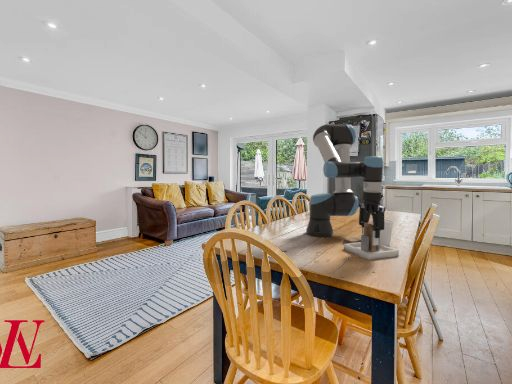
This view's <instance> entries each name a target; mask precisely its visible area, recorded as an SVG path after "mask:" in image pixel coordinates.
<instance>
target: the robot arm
mask: <svg viewBox="0 0 512 384" xmlns="http://www.w3.org/2000/svg"><path fill="white" fill-rule="evenodd" d="M356 137H357V136H356V130H355V128H354V126H353V125H352V124H345V123H343V124H327V123H326V124H324V125H323V124H322V125H321V126H319V127H317V129H316V130H315V131H314V133H313V135H312V141H313V145H314V146H315V147H317V149H318V150H319V151H318V152H319V153H320V156H321V157H322V160H323V163H324V164H323V168H322V171H323V175H324V177H325V178H332V179H334V181H335V182H334V183H335V184H334V185H335V186H334V187H335V190H334V191H333V192H332V194H331V193H329V192H328V193H326V192H325V193H316V194H313V195H311V196H310V197H309V198H310V199H309V220H308V225H307V227H306V234H307V235H308V236H312V237H319V238H320V237H322V238H323V237H331V236H333V235H334V230H333V229H334V228H333V226H332V223H331V222H332V221H331V217H348V216H349V217H351V216H354V215H355V214H357V213H356V212H357V210H358V208H359V213H358V225H359V226H361V233H362V234H361V235H364V222H370V219H373V224H374V230H373V238H372V245H373V246H374V245H378V244H379V238H380V230H384V219H385V213H386V206H382V205H381V201H382V189H383V168H384V167H383V166H384V162H383V157H382V156H378V155H377V156H376V155H375V156H374V155H371V156H364V158H363V161H351V159H350V158H351V157H350V156H351V155H350V149H352V147H353V145H354V144H355V142H356ZM352 178H353V179H354V178H358V179H362V178H363V184H362V185H363V186H362V187H363V188H362V190H363V191H362V200H363V203H359V199H358V196H356V195H355V193H354V191H353V190H352V185H351V183H352V182H351V179H352ZM370 217H372V218H370ZM377 227H378V228H377Z"/></svg>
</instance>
